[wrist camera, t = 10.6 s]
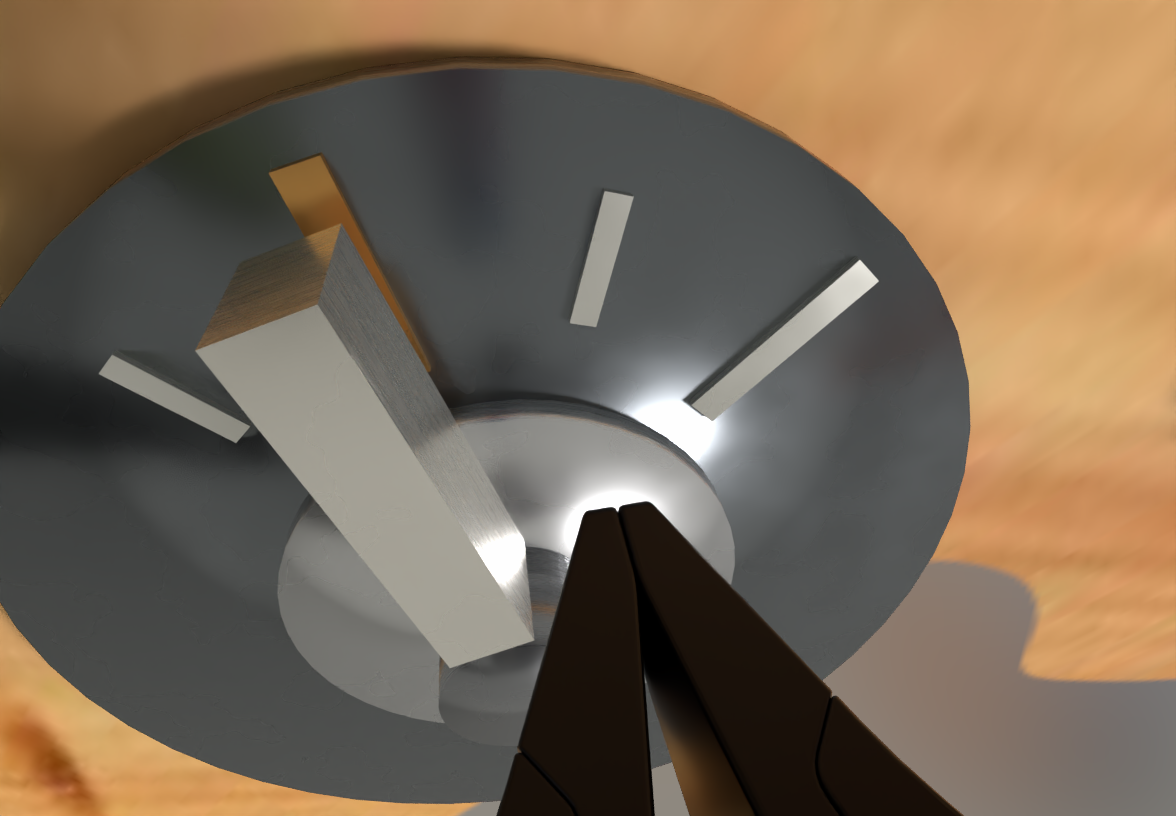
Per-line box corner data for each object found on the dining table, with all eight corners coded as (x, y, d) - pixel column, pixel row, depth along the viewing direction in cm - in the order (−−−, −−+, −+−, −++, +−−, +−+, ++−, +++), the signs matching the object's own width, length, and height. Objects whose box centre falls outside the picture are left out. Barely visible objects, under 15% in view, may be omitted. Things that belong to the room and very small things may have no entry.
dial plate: (543, 833, 33) (546, 862, 32) (-185, 621, 20) (-217, 660, 19) (1095, 473, 24) (1122, 500, 23) (413, -349, 11) (410, -368, 10)
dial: (760, 629, 24) (804, 742, 21) (412, 741, 25) (406, 864, 22) (598, 108, 14) (639, 183, 11) (16, 333, 15) (-97, 459, 12)
